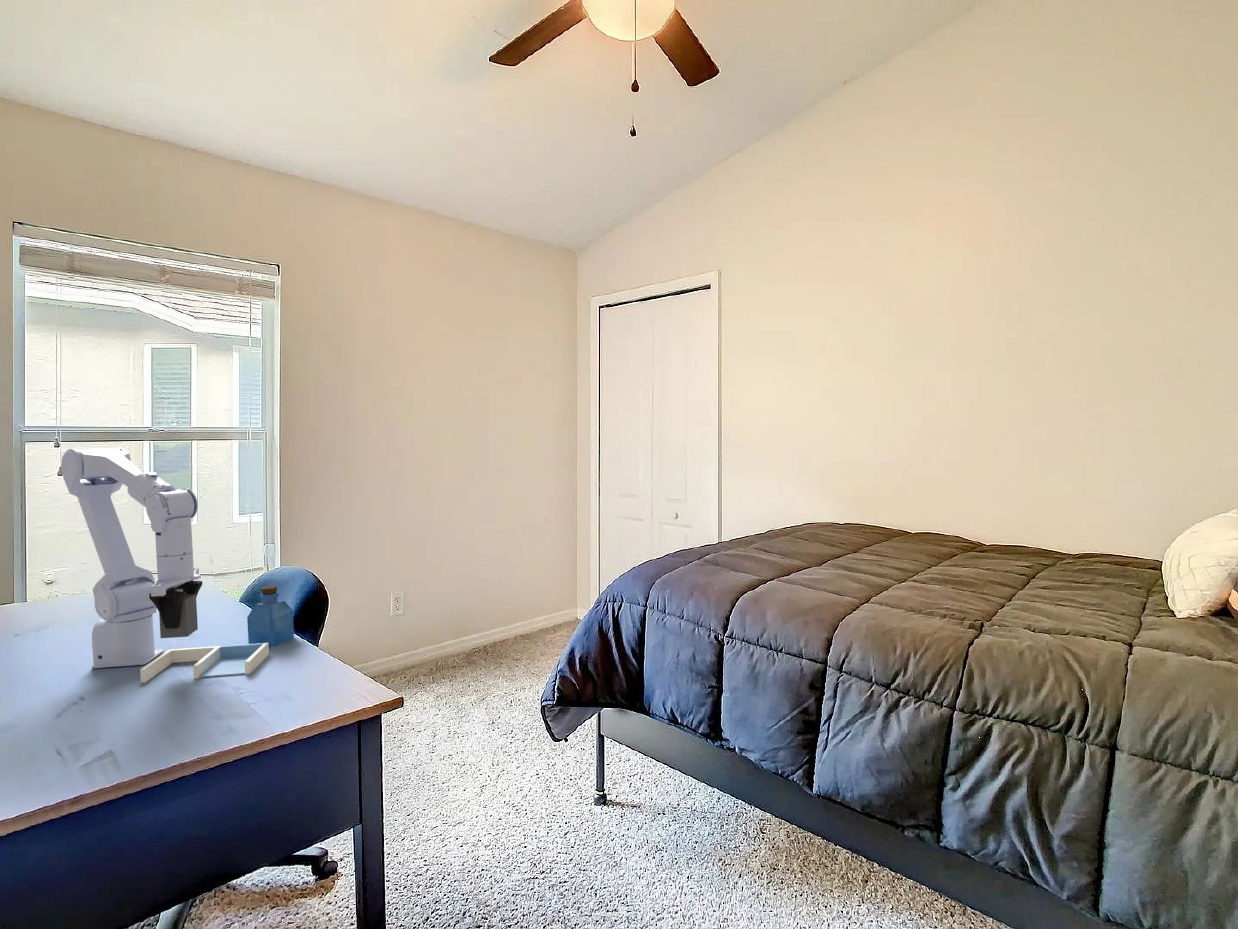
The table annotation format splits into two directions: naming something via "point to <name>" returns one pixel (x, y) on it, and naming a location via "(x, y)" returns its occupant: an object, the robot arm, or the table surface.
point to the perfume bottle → (270, 619)
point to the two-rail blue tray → (211, 660)
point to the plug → (183, 619)
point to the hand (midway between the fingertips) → (178, 623)
